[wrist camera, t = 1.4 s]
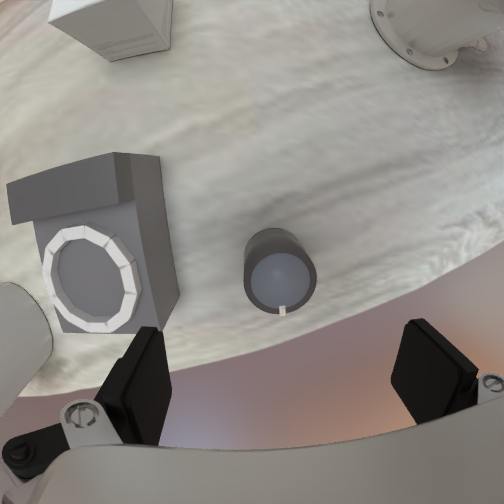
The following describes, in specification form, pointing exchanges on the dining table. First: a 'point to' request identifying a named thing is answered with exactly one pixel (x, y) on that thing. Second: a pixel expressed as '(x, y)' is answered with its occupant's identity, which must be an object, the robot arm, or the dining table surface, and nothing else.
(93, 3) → the supplement box
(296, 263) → the lens
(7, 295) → the utensil holder
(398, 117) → the dining table surface
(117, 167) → the camera body
